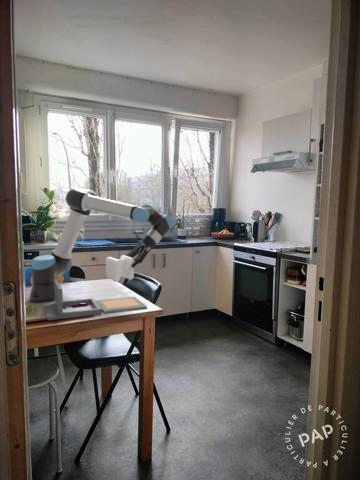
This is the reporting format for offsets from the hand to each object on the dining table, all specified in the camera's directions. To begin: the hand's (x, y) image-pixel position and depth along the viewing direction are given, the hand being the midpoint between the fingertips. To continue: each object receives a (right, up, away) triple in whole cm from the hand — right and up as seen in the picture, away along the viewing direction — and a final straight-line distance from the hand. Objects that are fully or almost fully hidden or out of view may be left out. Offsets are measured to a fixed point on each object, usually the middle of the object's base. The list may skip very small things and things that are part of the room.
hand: (123, 269), depth 179 cm
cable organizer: (-2, -5, 0) cm, 6 cm away
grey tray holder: (-24, -20, -9) cm, 32 cm away
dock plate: (-2, -19, +1) cm, 19 cm away
